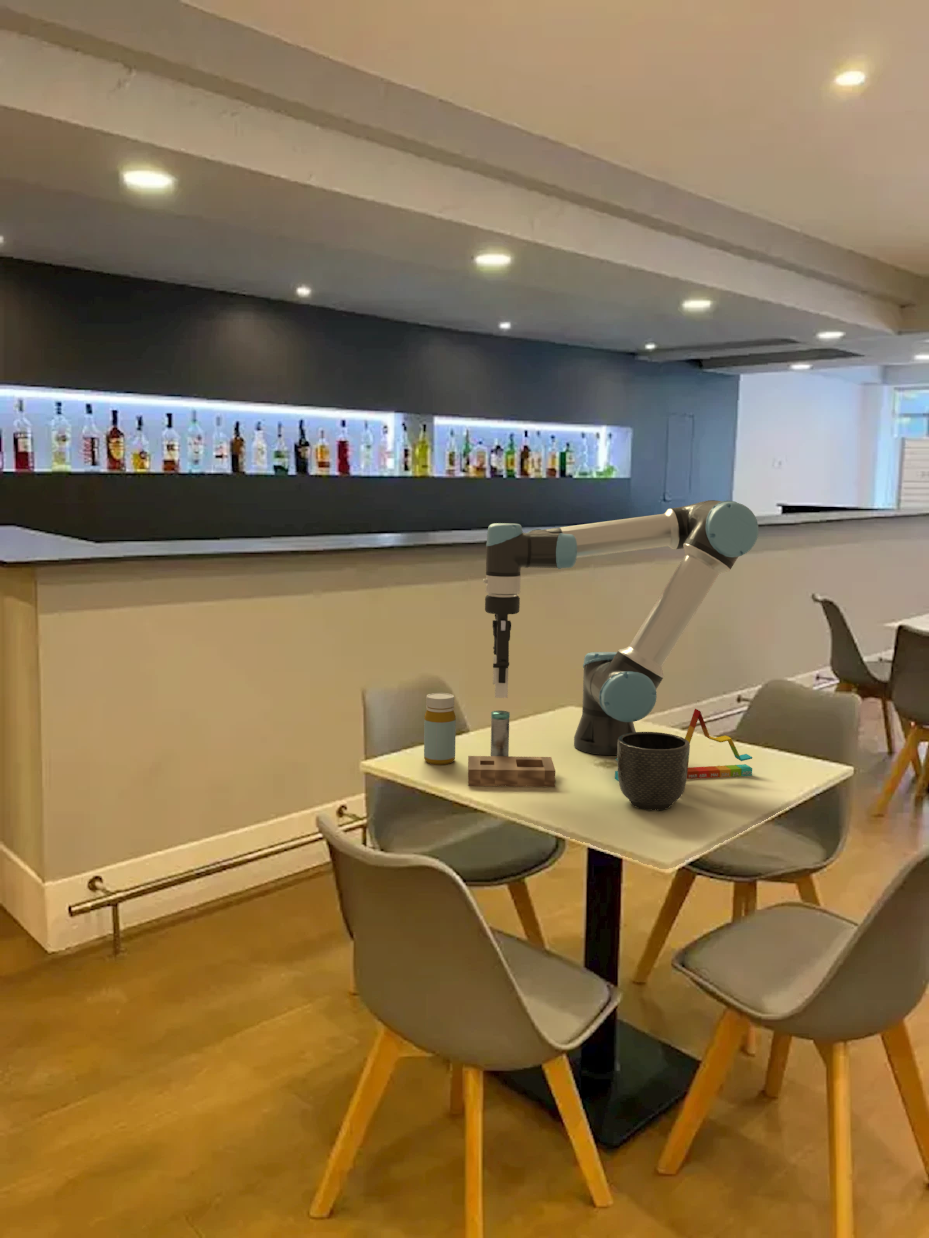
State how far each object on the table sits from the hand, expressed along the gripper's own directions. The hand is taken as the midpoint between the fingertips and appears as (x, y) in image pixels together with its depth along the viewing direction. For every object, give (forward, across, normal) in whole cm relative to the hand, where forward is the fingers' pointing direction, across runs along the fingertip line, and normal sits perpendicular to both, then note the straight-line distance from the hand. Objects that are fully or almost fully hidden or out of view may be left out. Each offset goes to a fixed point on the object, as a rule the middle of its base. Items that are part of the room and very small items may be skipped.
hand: (499, 690), depth 215 cm
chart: (+17, +7, +40) cm, 44 cm away
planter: (+17, +25, +29) cm, 42 cm away
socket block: (+17, +10, +2) cm, 20 cm away
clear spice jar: (+17, 0, 0) cm, 17 cm away
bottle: (+17, -3, -13) cm, 22 cm away
